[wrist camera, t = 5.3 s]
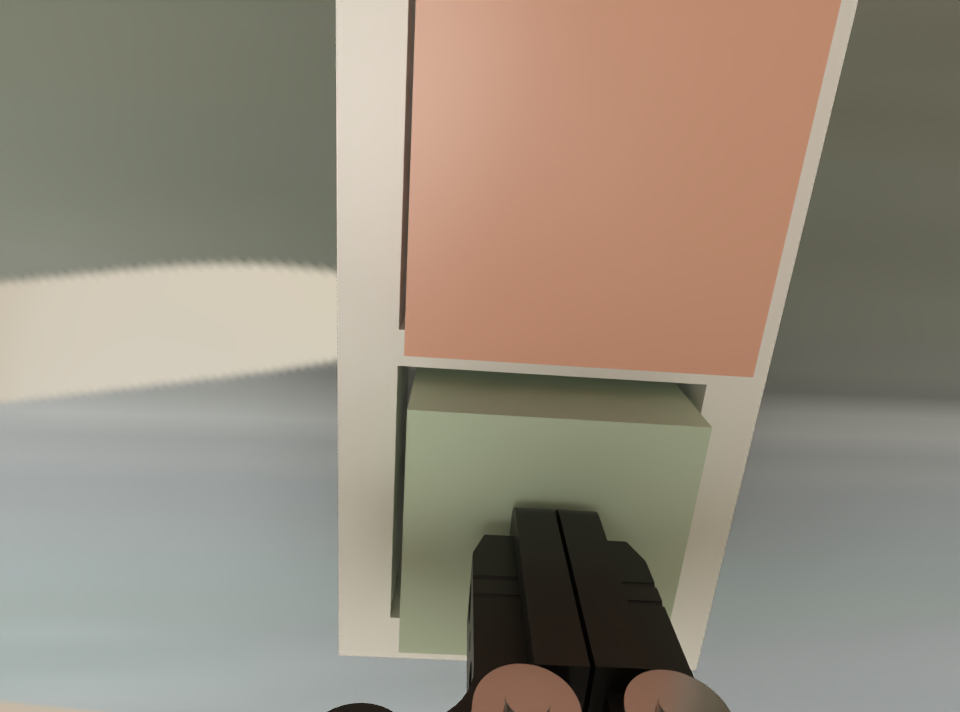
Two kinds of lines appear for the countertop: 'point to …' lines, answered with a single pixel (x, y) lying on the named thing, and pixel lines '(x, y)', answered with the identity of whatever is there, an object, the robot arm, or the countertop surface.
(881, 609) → the countertop surface
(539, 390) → the sage key
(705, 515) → the cream flat tray
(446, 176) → the terracotta key
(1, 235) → the countertop surface
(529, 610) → the robot arm
